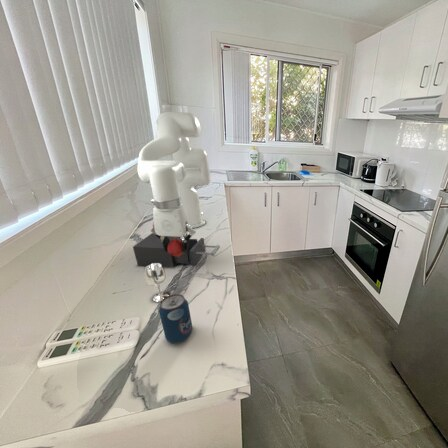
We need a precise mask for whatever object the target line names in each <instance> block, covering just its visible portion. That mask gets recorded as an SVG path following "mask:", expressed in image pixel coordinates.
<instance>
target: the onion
mask: <svg viewBox="0 0 448 448" xmlns="http://www.w3.org/2000/svg"><path fill="white" fill-rule="evenodd" d="M167 249H168V253H169V254H170V255H172V256H176V257H180V256H181V255H182V254H183V253H184V252H183V249H182V241H181V240H179V239H177V238H176V237H174V239H173V240H171V241H170V242H169V244H168V247H167Z"/></svg>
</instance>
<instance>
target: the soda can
mask: <svg viewBox="0 0 448 448" xmlns="http://www.w3.org/2000/svg"><path fill="white" fill-rule="evenodd" d="M158 313H159V317H160V321H161V325H162V329H163V334H164V338H165V340H166V341H167V342H169V343H171V344H177V345H178V344H180V343H181V344H182V343H184V342H185V341H187V340H188V339H189V338H190V336H191V334H192V333H193V330H194V329H193V322H192V317H191V312H190V306H189V301H188V300H187V299H186V298H185V296H184V295H182V294H178V293H177V294H176V293H175V294H171V295H168V297H166V298H165V299H163V300H162V301H160V305H159V308H158Z"/></svg>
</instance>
